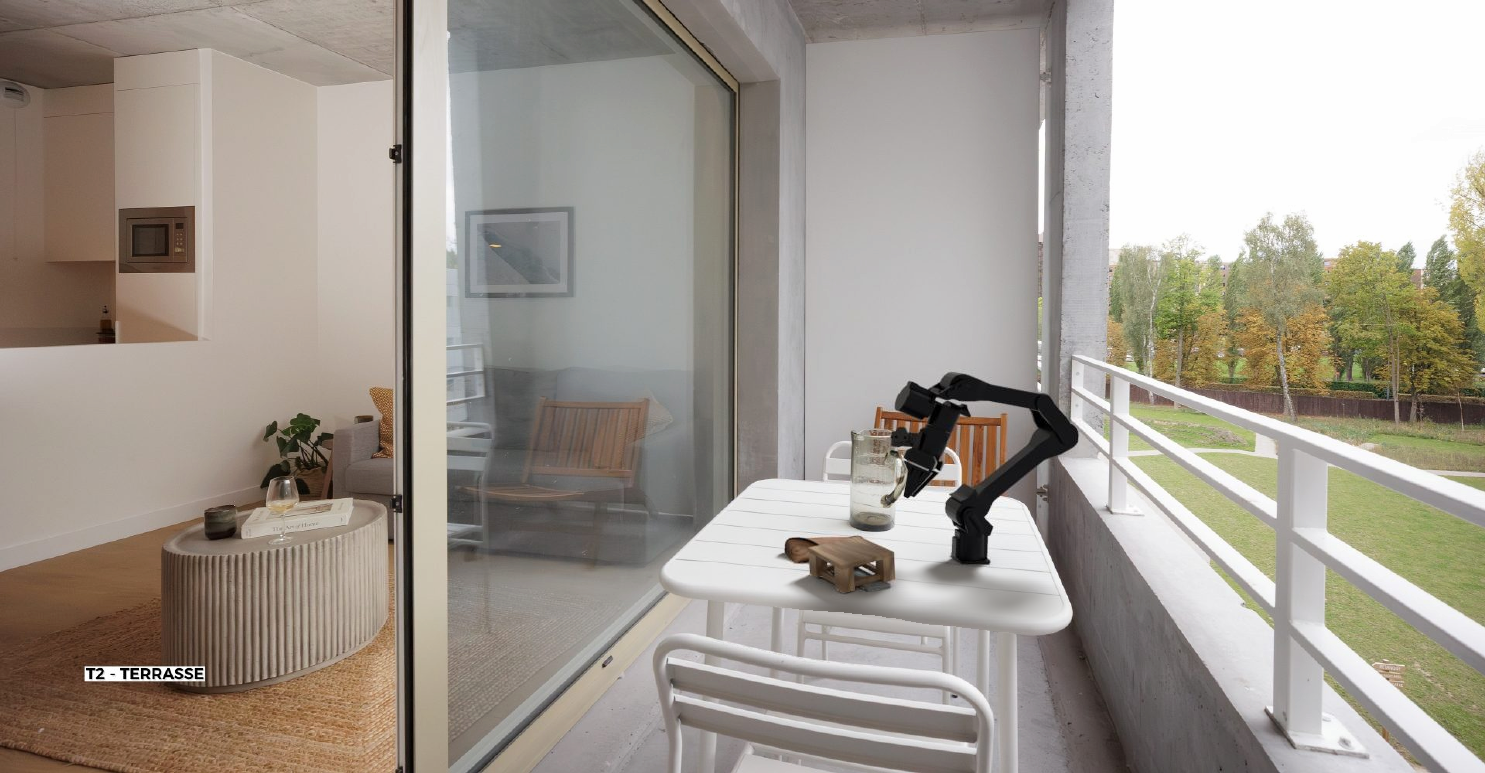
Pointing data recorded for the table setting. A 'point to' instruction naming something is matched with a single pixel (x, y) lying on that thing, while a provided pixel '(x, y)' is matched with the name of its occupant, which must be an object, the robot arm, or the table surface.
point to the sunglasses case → (806, 546)
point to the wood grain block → (851, 562)
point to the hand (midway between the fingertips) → (908, 496)
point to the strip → (872, 585)
